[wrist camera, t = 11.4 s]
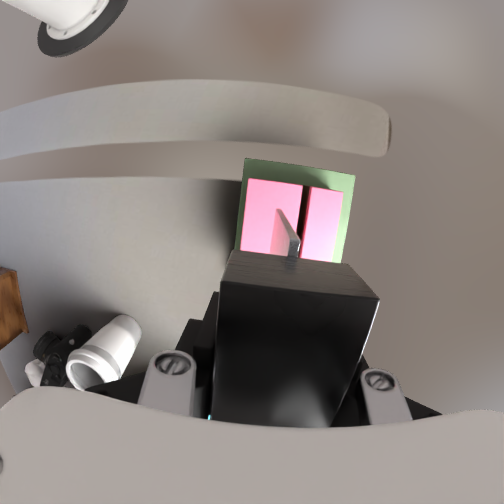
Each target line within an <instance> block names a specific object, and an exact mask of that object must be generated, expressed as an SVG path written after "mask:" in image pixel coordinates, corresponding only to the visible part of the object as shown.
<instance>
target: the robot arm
mask: <svg viewBox="0 0 504 504" xmlns="http://www.w3.org/2000/svg"><path fill="white" fill-rule="evenodd" d="M1 1H3V2H5V3H8V4H10V5H12V6H14V7H16V8H18V9H20V10H22V11H24V12H26V13H28V14H30V15H32V16H34V17H35V18H37V19H39V20H41V21H43V22H45V23H46V24H47V33H48V35H49V36H50V37H52V38H53V39H56V40H64V39H68V38H70V37H72V36H75V35H76V34H78V33H80V32H81V31H83V30H84V29H85V28H87V27H88V26H89V25H90V24H91V23H93V22H94V21H95V19H96V18H97V17H98V16H99V15H100V14H101V13H102V12H103V10H104V9H105V7H106V6H107V4H108V2H109V0H1ZM218 302H219V292H215V291H214V292H213V295H212V298H211V300H210V303H209V305H208V308H207V311H206V313H205V316H204V318H203V321H202V320H196V319H189V321H188V323H187V325H186V327H185V329H184V331H183V333H182V336H181V338H180V340H179V342H178V344H177V346H176V349H175V350H165V351H161V352H158V353H156V354H155V355H154V356H152V358H151V360H150V362H149V365H148V368H147V371H146V372H143V373H139V374H136V375H132V376H129V377H125V378H122V379H118V380H114V381H111V382H107V383H103V384H99V385H95V386H91V387H89V388H86V389H85V390H78V389H72V388H67V387H54V386H40V387H33V388H29V389H26V390H24V391H22V392H20V393H18V394H16V395H14V396H13V397H12V398H11V399H10V401H8V402H7V403H6V404H5V405H4V406H3V407H2V408H1V409H0V504H504V413H502V412H498V411H494V410H469V411H461V412H456V413H451V414H445V415H442V414H441V413H439V412H437V411H434V410H432V409H430V408H428V407H426V406H424V405H421V404H419V403H417V402H415V401H413V400H411V399H409V398H407V397H405V396H404V394H403V391H402V389H401V386H400V384H399V381H398V380H397V378H396V377H395V376H394V375H393V374H392V373H390V372H388V371H386V370H383V369H379V368H369V366H368V364H367V363H366V360H365V359H364V356H363V354H362V355H361V358H360V360H359V363H358V365H357V368H356V371H355V373H354V375H353V378H352V380H351V383H350V385H349V387H348V390H347V392H346V394H345V397H344V399H343V401H342V403H341V406H340V408H339V410H338V412H337V414H336V416H335V418H334V420H333V423H332V425H331V427H330V428H295V427H272V426H259V425H247V424H238V423H229V422H221V421H214V420H208V419H209V415H210V408H211V392H212V377H213V363H214V349H215V337H216V325H217V313H218Z"/></svg>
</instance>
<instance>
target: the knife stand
mask: <svg viewBox="0 0 504 504" xmlns="http://www.w3.org/2000/svg"><path fill="white" fill-rule="evenodd" d="M22 332H24V333H26V334H28V333H29V331H28V327H27V323H26V319H25V315H24V311H23V306H22V301H21V296H20V291H19V285H18V279H17V273H16V271H13V270H10V269H7V268H3V267H0V350H1V349H3V348H4V347H5V346H6V345H7V344H9V343H10V342H11V341H12V340H13V339H15V338H16V337H17V336H18V335H20V334H21V333H22Z"/></svg>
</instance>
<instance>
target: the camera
mask: <svg viewBox="0 0 504 504" xmlns="http://www.w3.org/2000/svg"><path fill="white" fill-rule="evenodd" d="M91 338H92V334H91V332H90V330H89V329H88V328H87V327H86V326H84V325H79V326H77V327H76V328H75V329H74V330H73V331H72V332H71V333H70V334H69V335H67V336H66V337H65V338H64V339H63V340H62V341H60V340H59V338H58V337H57V336H56V335H55V334H54V333H53V332H51V331H47V332H46V333H45V334H44V335H43V336H42V337H41V338H40V339H39V340H38V342H37V344H36V345H35V347H34V350H33V354H34V355H35V356H36V357H37V358H38V359H39V360H40V361H41V362H43V363H44V365H45V369H44V372H43V375H42V379H41V382H40V386H54V387H63V386H64V385H65V383H66V382H67V381H68V380H69V378H68V376H67V373H66V365H67V361H68V357H69V355H70V353H71V352H72V351H74V350H77V349H80V348H81V347H82V346H83V345H84V344H85V343H86V342H87V341H89V340H90V339H91Z"/></svg>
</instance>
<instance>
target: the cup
mask: <svg viewBox="0 0 504 504" xmlns="http://www.w3.org/2000/svg"><path fill="white" fill-rule="evenodd" d="M141 336H142V331H141V328H140V326H139V324H138V323H137V322H136V320H134V319H133V318H132V317H130V316H128V315H118V316H116V317H115V318H114V319H113V320H112V321H111V322H110V323H109V324H108V325H106V326H104V327H103V328H102V329H101V330H99V331H98V332H97V333H96V334H95V335H94V336H93V337H92V338H91V339H90V340H89V341H87V342H86V343H85V344H84V345H83V346H82V347H81V348H80V349H77V350H74V351H72V352H71V353H70V355H69V357H68V361H67V365H66V373H67V376H68V378H69V380H70V382H71V383H72V384H73V386H74V387H75V388H76V389H78V390H85V389H86V388H89V387H91V386H95V385H99V384H103V383H107V382H111V381H114V380H118V379H120V378H121V376H122V374H123V372H124V370H125V368H126V366H127V365H128V363H129V361H130V359H131V357H132V355H133V353H134V351H135V347H136V346H137V344H138V342H139V340H140V338H141Z"/></svg>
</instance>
